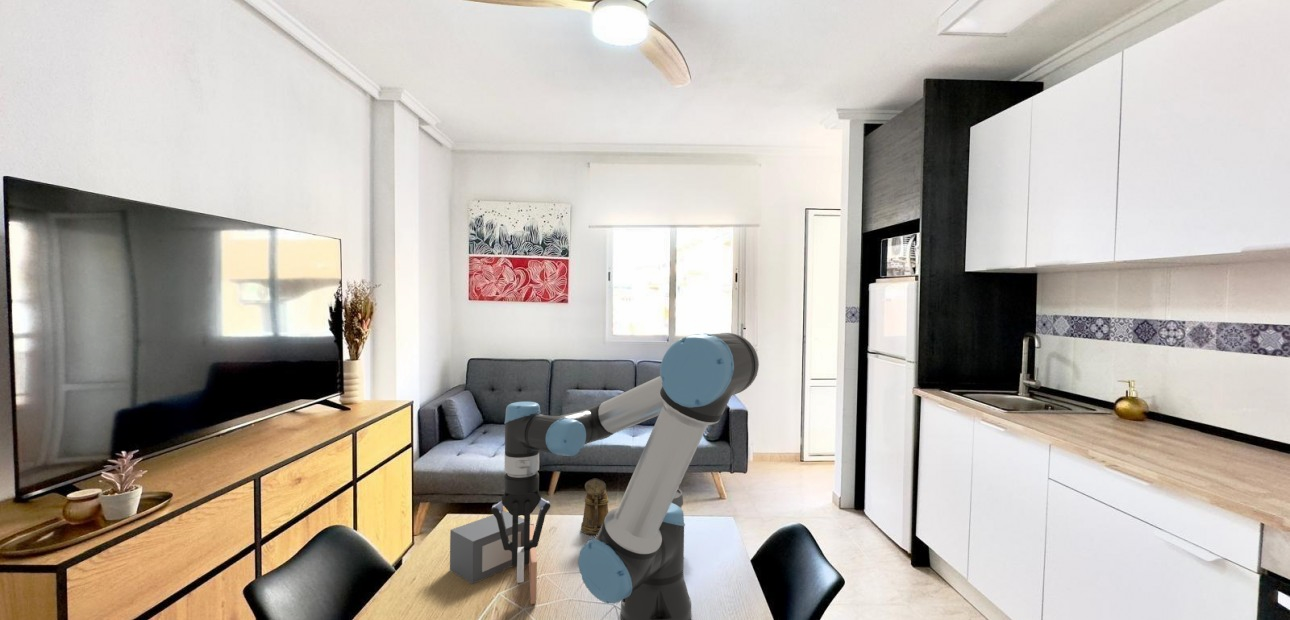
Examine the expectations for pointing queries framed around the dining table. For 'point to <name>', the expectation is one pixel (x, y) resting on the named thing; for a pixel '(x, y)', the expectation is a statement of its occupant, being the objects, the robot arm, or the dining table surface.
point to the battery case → (482, 548)
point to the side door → (532, 568)
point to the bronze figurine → (594, 506)
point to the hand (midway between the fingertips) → (520, 579)
